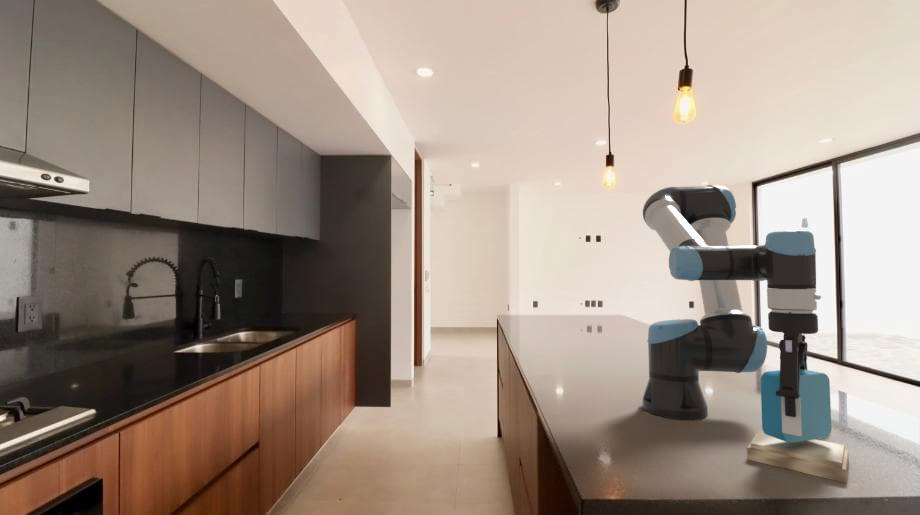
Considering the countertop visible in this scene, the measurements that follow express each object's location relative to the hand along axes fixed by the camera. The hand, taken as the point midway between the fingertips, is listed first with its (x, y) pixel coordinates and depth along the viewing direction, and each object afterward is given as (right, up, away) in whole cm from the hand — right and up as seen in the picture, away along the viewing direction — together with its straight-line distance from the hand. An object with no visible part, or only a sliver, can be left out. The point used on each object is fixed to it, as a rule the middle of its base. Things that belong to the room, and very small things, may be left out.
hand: (796, 425), depth 82 cm
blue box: (0, -2, 0) cm, 2 cm away
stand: (0, -6, 0) cm, 6 cm away
